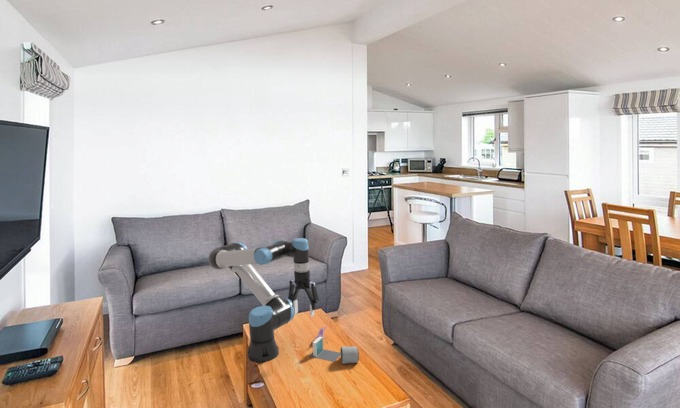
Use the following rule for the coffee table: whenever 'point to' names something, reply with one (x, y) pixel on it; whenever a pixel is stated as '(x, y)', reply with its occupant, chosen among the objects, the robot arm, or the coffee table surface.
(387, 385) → the coffee table surface
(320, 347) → the tile
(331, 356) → the mat
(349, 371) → the coffee table surface
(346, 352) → the ceramic mug
